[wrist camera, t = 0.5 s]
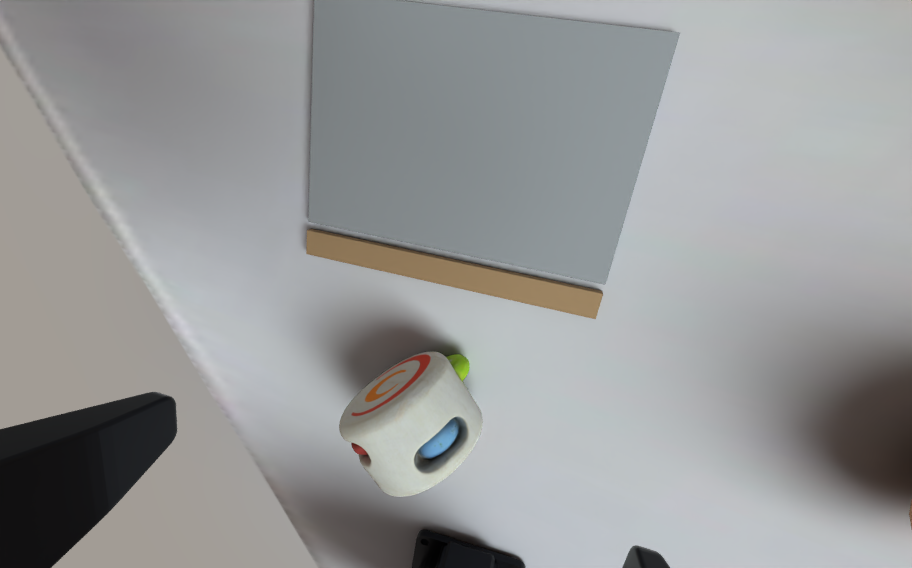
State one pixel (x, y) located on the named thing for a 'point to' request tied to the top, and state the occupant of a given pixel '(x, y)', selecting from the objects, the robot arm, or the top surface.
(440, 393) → the roller toy
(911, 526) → the egg
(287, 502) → the top surface
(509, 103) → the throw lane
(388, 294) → the top surface
